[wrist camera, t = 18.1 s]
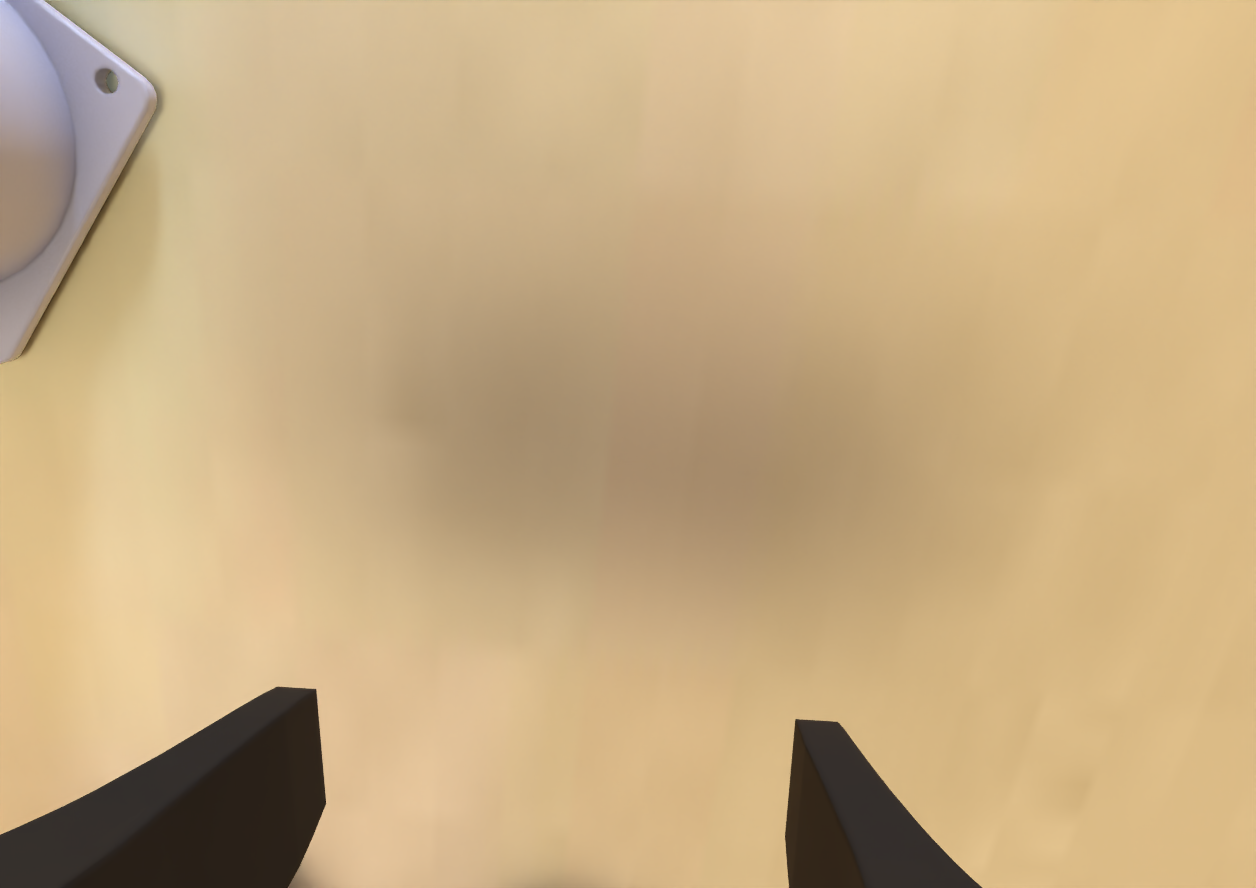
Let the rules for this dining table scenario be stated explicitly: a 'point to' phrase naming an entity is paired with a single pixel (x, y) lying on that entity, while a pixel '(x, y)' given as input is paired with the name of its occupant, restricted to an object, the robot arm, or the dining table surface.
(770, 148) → the dining table surface
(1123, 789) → the dining table surface
